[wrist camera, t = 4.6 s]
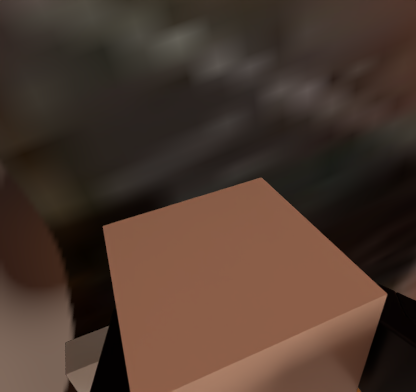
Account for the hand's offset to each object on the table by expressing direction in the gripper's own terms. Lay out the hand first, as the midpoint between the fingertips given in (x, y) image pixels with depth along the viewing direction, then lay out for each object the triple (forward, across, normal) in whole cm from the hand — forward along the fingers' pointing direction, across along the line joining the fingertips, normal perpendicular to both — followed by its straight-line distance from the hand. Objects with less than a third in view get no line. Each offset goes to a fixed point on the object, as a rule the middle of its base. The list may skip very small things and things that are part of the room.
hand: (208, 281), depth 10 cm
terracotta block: (+1, 0, 0) cm, 1 cm away
